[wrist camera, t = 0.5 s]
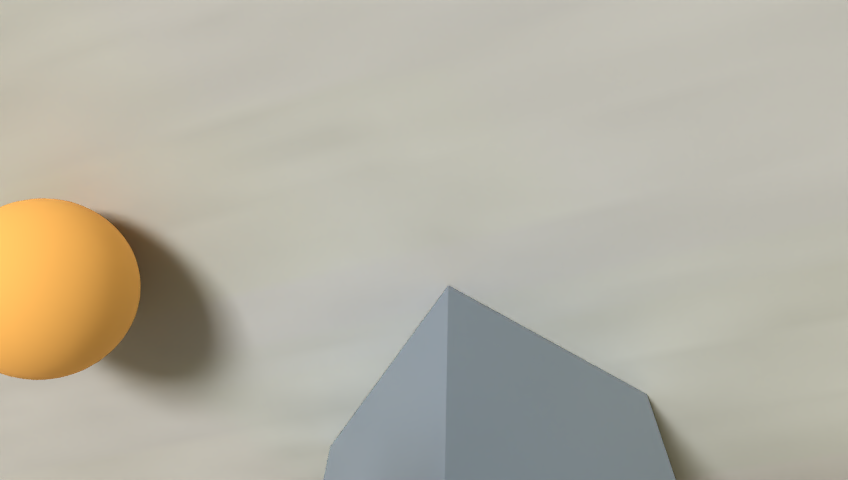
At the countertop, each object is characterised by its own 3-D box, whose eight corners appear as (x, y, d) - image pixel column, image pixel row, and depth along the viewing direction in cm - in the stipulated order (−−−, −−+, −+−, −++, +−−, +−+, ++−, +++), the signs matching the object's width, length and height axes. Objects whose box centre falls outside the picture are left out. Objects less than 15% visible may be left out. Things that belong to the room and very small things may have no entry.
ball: (128, 340, 26) (61, 446, 21) (-21, 268, 25) (-125, 363, 20) (190, 223, 24) (129, 314, 19) (30, 139, 23) (-73, 214, 18)
